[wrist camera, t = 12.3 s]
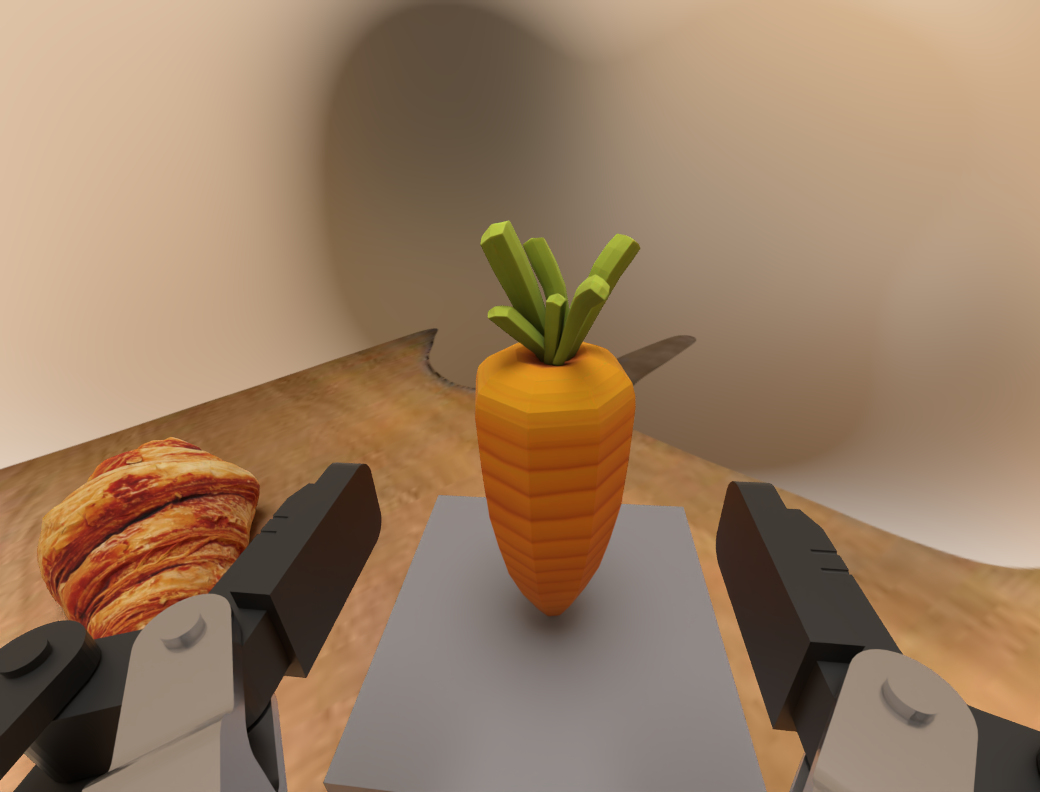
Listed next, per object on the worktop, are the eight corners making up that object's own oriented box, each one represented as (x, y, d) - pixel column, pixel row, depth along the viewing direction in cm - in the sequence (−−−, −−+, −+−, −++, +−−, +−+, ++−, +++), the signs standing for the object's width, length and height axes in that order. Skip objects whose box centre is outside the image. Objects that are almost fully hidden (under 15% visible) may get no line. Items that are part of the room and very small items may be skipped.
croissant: (152, 513, 36) (41, 456, 31) (258, 426, 38) (171, 358, 33) (128, 781, 20) (-109, 751, 15) (313, 604, 22) (160, 527, 17)
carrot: (621, 576, 20) (659, 206, 13) (603, 690, 16) (645, 237, 9) (513, 552, 21) (493, 206, 14) (471, 650, 17) (412, 232, 10)
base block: (673, 561, 25) (683, 506, 24) (750, 894, 14) (780, 840, 12) (446, 547, 27) (438, 495, 25) (351, 838, 16) (323, 782, 14)
